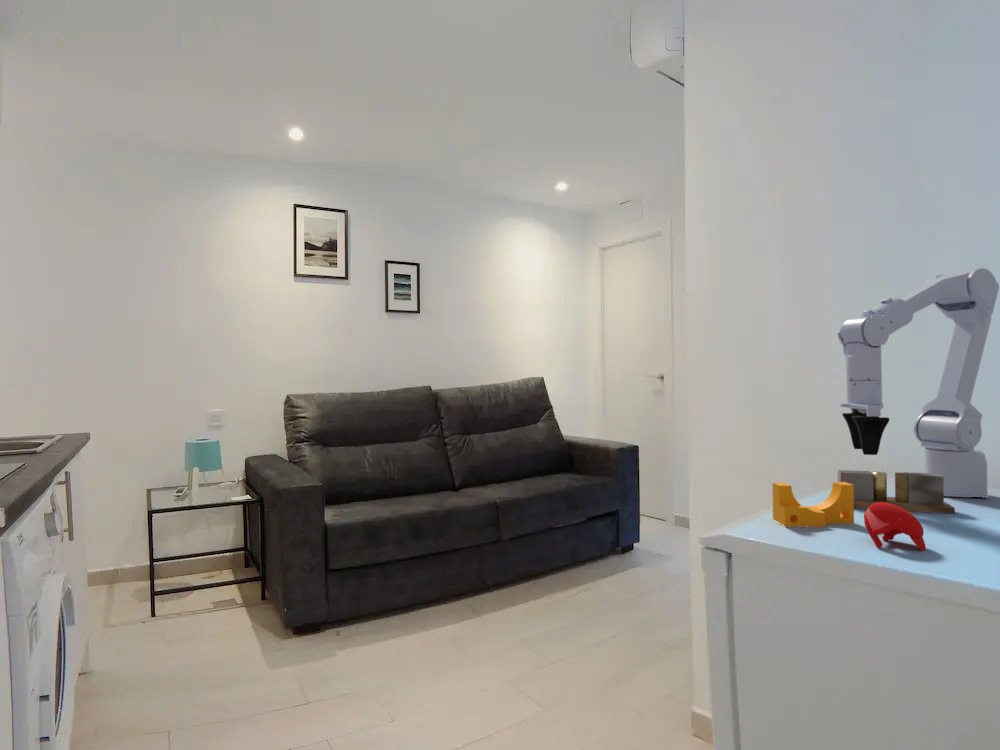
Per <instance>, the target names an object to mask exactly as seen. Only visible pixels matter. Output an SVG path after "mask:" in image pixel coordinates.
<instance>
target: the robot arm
mask: <svg viewBox="0 0 1000 750" xmlns="http://www.w3.org/2000/svg"><path fill="white" fill-rule="evenodd" d="M999 289H1000V285H999V283H998V281H997V279H996V278H995V276H994V274H993V273H992V272H991V271H990V270H989V269H987V268H984V267H982V268H976V269H975V270H974V269H972V270H969V271H967V270H966V271H961V272H954V273H949V274H939V275H935V276H934V277H932V278H930V279H927V280H926V281H925V283H924V284H922V285H921V286H919V287H918V288H916V289H915V290H913V291H912V292H910V293H908V294H907V295H906V296H904V297H903V298H900V297H893V298H892V297H885V298H883V299H882V300H880V304H879V305H877V306H876V307H873V308H871V309H865V310H864V311H863V312H862V315H861V316H860V317H853V318H852V317H851V318H849V319H847V320H846V321H845V322H844V323H843V324H842V325H841V327H840V330H839V332H837V337H838V340H839V342H840V344H841V345H842V347H843V349H842V350H843V354H844V356H845V360H846V361H845V366H846V368H845V369H846V370H845V371H846V375H845V376H846V402H840V403H839V407H840V408H847V409H849V410H850V412H842V417H843V418H844V420H845V422H846V424H847V427H848V430H849V434H850V439H851V443H852V445H853V448H854V450H862V454H863V455H864V456H865V455H866V456H867V455H868V456H877V455H878V452H879V449H880V444H881V441H882V437H883V433H884V431H885V429H886V426H888V424H889V422H890V418H889V417H885V416H884V417H881V414H882V413H881V409H883V408H884V402H883V385H882V384H883V380H882V378H883V377H882V345H883V346H884V345H885V344H886V343H887V342H888V340H889V337H890V335H891V334H893V333H895V332H896V331H899V330H900V329H901V328H904V327H905V326H907V325H908V324H910V323H911V322H912V321H913V319H914V318H913V317H914V314H915V313H917V312H919V311H921V310H923V309H925V308H927V307H930V305H934V306H935V307H936V308H937V309H938V310H939V311H940V312H941V313H942V314H943V315H944V316H945V317H946V318H947V319H950V320H952V321H953V322H954V323H955V324H954V328H953V329H954V330H953V333H952V337H951V340H950V344H949V347H948V348H949V349H948V352H947V357H946V359H945V364H944V368H943V372H942V375H941V380H940V383H939V387H938V392H937V395H936V397H935V398H933V399H931V400H930V401H929V402H927V403H926V404H924V405H923V406H922V409H921V412H920V415H919V416H918V417H917V418H916V419H915V421H914V425H913V432H914V435H915V437H916V439H917V440H918V441H919V442H920V444H921V445H920V447H923V448H924V473H934V474H939V475H941V476H943V484H944V497H952V498H953V497H954V498H955V497H957V498H972V497H983V498H982V499H989V498H990V496H989V495H988V463H987V458H986V455H985V453H984V452H983V451H982V450H980V449H975V447H977V446H978V444H979V442H980V441H981V438H982V433H983V432H982V423H981V422H982V418H983V414H982V412H980V411H979V410H978V409H977V408H976V407H975V406H974V405H973V404H972V403H971V401H972V397H973V393H974V389H975V385H976V381H977V377H978V373H979V370H980V369H979V368H980V367H981V366H980V365H981V361H982V357H983V353H984V350H985V346H986V342H987V337H988V335H989V330H990V327H991V321H992V314H993V313H994V309H995V306H996V302H997V298H998V294H999ZM984 497H985V498H984ZM988 497H989V498H988Z"/></svg>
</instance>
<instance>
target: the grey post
mask: <svg viewBox="0 0 1000 750" xmlns="http://www.w3.org/2000/svg"><path fill="white" fill-rule="evenodd" d="M887 475H888V474H887V472H883V471H869V470H845V469H838V470H837V482H846V483H849V484H852V485H854V500H855V501H881V502H885V501H887V497H888V481H887V480H888V477H887Z"/></svg>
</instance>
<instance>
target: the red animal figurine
mask: <svg viewBox="0 0 1000 750" xmlns="http://www.w3.org/2000/svg"><path fill="white" fill-rule="evenodd" d="M863 521H864V526H865V528H866V531H867V533H868V534H869V536H870V538H871V540H872V542H873V544H874V545H875V547H877V548H882V547H883V545H884V544H883V543H882V540H883V541H884V542H888V541H893V540H894V539H895V536H897V535H901V534H903V535H907V536H908V537H910V538H909V539H911V541H912V542H913V543H914V545H915V546H916V547H918V549H919V550H920V551H922V552H923V551H924V552H925V550H926V543H925V540H924V533H925V532H924V527H923V525H922V524H921V522H920V521H919V520H918V518H917V517H916V516H915V515H914V514H913V513H912V512H911V511H907V510H905V509H903V508H901V507H899V506H897V505H894V504H891V503H886V502H877V503H873V504H871V505H870V506H869V508H868V509H866V511H865V513H864V515H863ZM879 535H882V537H881V539H882V540H881V539H880V538H879Z"/></svg>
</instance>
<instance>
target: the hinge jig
mask: <svg viewBox="0 0 1000 750" xmlns="http://www.w3.org/2000/svg"><path fill="white" fill-rule="evenodd" d="M894 495H895V496H887V501H885V502H886V503H891V504H894V505H897V506H899V507H901V508H903V509H905V510H907V511H908V512H913V513H915V512H916V513H932V514H933V513H934V514H938V513H939V514H955V513H956V508H955V507H954V506H952V505H950V503H948V502H945V501H944V497H945V496H944V484H943V476H941V475H939V474H934V473H925V472H895V473H894ZM877 502H881V501H855V500H854V509H863V510H864V509H865V510H867V509H868V508H869V506H870V505H871V504H873V503H877Z"/></svg>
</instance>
